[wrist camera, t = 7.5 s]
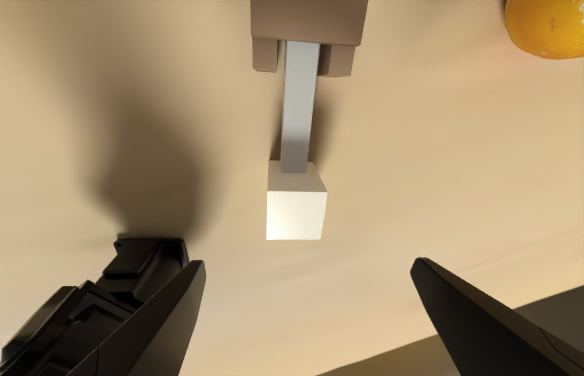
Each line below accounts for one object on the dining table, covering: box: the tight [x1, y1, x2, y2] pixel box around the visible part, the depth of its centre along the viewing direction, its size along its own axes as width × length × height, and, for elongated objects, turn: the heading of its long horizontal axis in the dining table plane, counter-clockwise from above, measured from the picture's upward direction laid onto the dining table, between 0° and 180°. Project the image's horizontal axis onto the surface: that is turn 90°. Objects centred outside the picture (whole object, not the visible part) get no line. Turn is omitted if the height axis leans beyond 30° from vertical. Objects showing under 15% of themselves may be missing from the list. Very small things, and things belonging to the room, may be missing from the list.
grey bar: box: [267, 41, 328, 240], centre depth 14 cm, size 18×4×6 cm, turn 176°
